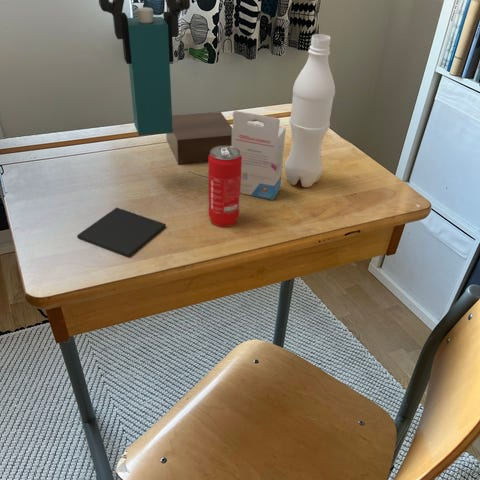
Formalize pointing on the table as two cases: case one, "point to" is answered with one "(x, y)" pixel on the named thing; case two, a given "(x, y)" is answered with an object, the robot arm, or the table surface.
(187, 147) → the walnut stand
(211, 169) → the beverage can
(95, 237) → the coaster
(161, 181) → the table surface
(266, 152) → the ink box
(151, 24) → the teal tall block
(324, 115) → the water bottle
